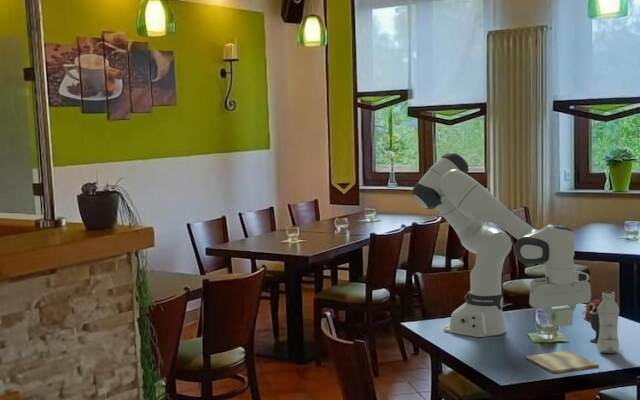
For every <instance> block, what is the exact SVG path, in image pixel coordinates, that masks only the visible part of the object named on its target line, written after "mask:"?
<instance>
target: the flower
mask: <svg viewBox="0 0 640 400" xmlns="http://www.w3.org/2000/svg"><path fill="white" fill-rule="evenodd" d="M602 299H603V298H600V299H596V298H595V299H594V300H593V301H589V302H588V303H586V305H585V306H583V307H584V308H585V310H583V311H582V312H581V314H582V315H584V317H585V318H586V319H588V320H589V319H590V315H589V314H588V312H589V311H590V305H591V306H594V305H598V303H600V302H602Z"/></svg>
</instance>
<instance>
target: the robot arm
mask: <svg viewBox="0 0 640 400" xmlns="http://www.w3.org/2000/svg"><path fill="white" fill-rule="evenodd" d="M469 169H470V168H469V164H468V162H467V161H466V160H465V158H464V157H463V156H462V155H460V154H459V153H456V152H454V151H449V152H446V153H445V154H444V155H442V156H441V158H440V159H438V160H437V161H436V162H435V163H434V164H433V165H432V166H431V167H430V168H429V169H428V170H427V172H426V173H425V174H424V175H423V176H422V177H421V178H420V179H419V181H418V182H417V183H415V185H414V187H412V190H411V193H412V197H413V199H414V200H415V202H416V203H417V204H418V206H420V207H422V208H424V209H425V210H434V209H436V210H437V212H438V213H439V214H440V215H441V216H442V217H443V218H444V219H445V221H446V222H447V223H448V224H449V225H450V226H451V227H452V228H453V230H454V231H455V233H456V235H457V237H458V238H459V241H460V243H461V245H462V247H464V248H465V249H466V250H467V251H468V252H470V253H471V254H472V253H473V254H476V258H475V264H474V266H473V268H472V269H471V270H470V273H469V274H470V275H469V278H470V280H469V281H470V283H469V284H470V290H468V291H467V292H466V294H465V296H464V300H465V302H464V303H463V304H461V305H460V306H459V307H458V308H456V309H455V310H453V312H452V313H451V315H450V320H449V322H448V323H446V324H445V325H444V327H443V332H446V333H451V334H458V335H462V336H471V337H477V338H484V337H491V336H498V335H503V334H505V333H506V332H507V327H506V325H505V324H506V323H505V321H504V315H503V307H504V297H503V292H502V273H503V272H502V271H503V266H504V262H505V259H506V257H507V256H508V255H509V254H510V251H511V250H512V246H513V245H512V244H513V243H512V240H511V237H510V236H509V234H510V235H511V236H512V237H514V238H515V239H517V241H516V242H515V243H514V247H513V253H514V255H515V258H516V259H517V260H518V261H519V262H520V263H521V264H524V265H526V266H527V265H528V266H532V265H533V266H534V265H538V264H539V265H540V264H544V266H545V267H544V271H545V275H544V276H545V277H536V278H534V279H533V280H532V281H531V282H530V284H529V286H530V287H529V288H530V290H529V299H528V300H529V301H528V304H529V305H530V307H532V308H534V309H543V308H544V311H545V312H546V314H547V320H548V321H549V320H550V321H552V320H555V315H554V314H552V313H551V311H550V310H552V307H558V306H568V308H569V309H572V319H573V318H574V316H573V315H574V314H573V313H574V312H575V310H576V308H577V305H580V304H589V303H590V302H591V299H592V288H591V283H590V282H589V280H590V275H589V274H588V273H586V272H583V271H580V270H577V269H576V266H575V261H574V257H575V252H576V251H575V250H576V249H575V248H576V247H575V237H574V233H573V229H571V228H570V227H568V226H567V225H564V224H560V223H549V224H547V225H546V226H545V227H543V228H539V227H535V226H533V225H532V224H530V223H528V222H527V221H526V220H525V219H524V218H521V216H519V215H518V214H516V213H515V212H513V210H511V209H510V208H508V207H507V206H505V204H504V203H502V202H501V201H500V200H499V199H498V198H497V197H496V196H494V195H493V193H491V192H490V191H489V190H488V189H487V188H486V187H485V186H483V185H482V184H481V183H480V182H478V181H477V180H476V179H474V178H473V177H472V176H470V175H469V174H468V173H469ZM486 223H491V224H495V225H497V226H499V227H500V228H502V229H503V230H502V229H500V228H497V227H494V226H489V225H488V224H486ZM504 230H505V231H506V232H507V233H509V234H507V233H506V232H505V231H504Z"/></svg>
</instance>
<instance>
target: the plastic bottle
mask: <svg viewBox="0 0 640 400" xmlns="http://www.w3.org/2000/svg"><path fill="white" fill-rule="evenodd" d="M601 295H602V296H601V299H603V300H602V302H601V303H600V305H599V306H598V313H599V324H600V330H599V338H598V343H596V344H597V350H599V352H601V353H603V354H616V353H617V352H618V351H619V349H620V348H619V347H620V342H619V335H618V324H619V323H618V322H619V314H620V306H619V304H618V303H617V302H616V301H615V299H616V297H615V295H616V294H615V292H614V291H613V292H612V291H603V292H602V294H601Z"/></svg>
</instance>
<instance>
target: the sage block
mask: <svg viewBox="0 0 640 400" xmlns="http://www.w3.org/2000/svg"><path fill="white" fill-rule="evenodd" d="M550 311H551V313H552V314H554V315H555V320H552V321H550V320H548V323H549V324H550V325H553V326H555V327H565V326H567V327H568V326H573V318H572V309H569V307H567V306H565V305H562V306H554V307H552V310H550Z"/></svg>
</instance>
